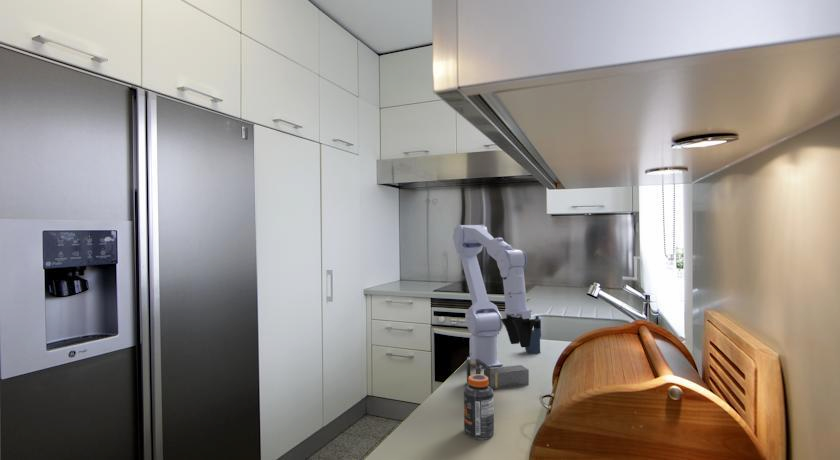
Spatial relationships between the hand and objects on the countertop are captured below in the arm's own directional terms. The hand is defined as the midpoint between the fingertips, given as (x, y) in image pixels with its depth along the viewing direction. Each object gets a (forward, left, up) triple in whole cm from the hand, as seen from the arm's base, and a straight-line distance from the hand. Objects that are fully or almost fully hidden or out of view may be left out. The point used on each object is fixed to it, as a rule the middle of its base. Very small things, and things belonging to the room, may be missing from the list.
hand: (520, 345), depth 112 cm
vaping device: (-25, +18, -10) cm, 32 cm away
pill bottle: (+22, -22, -10) cm, 33 cm away
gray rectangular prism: (-1, -4, -10) cm, 11 cm away
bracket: (-1, -11, -10) cm, 15 cm away
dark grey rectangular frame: (-1, -13, -10) cm, 17 cm away
